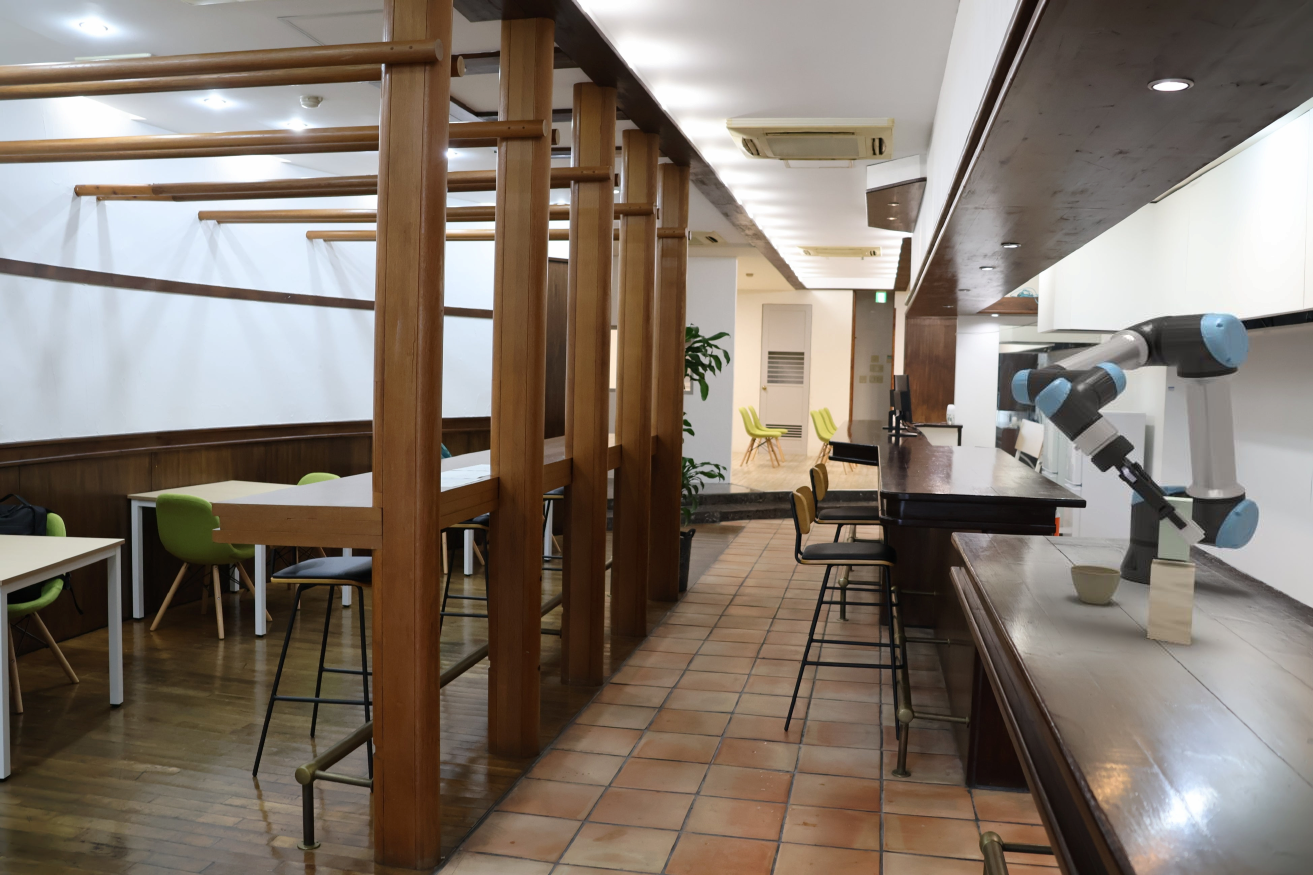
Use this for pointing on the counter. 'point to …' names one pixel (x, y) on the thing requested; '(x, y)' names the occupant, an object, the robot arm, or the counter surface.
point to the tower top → (1172, 583)
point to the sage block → (1175, 532)
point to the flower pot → (1095, 583)
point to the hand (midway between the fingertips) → (1198, 538)
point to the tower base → (1170, 623)
